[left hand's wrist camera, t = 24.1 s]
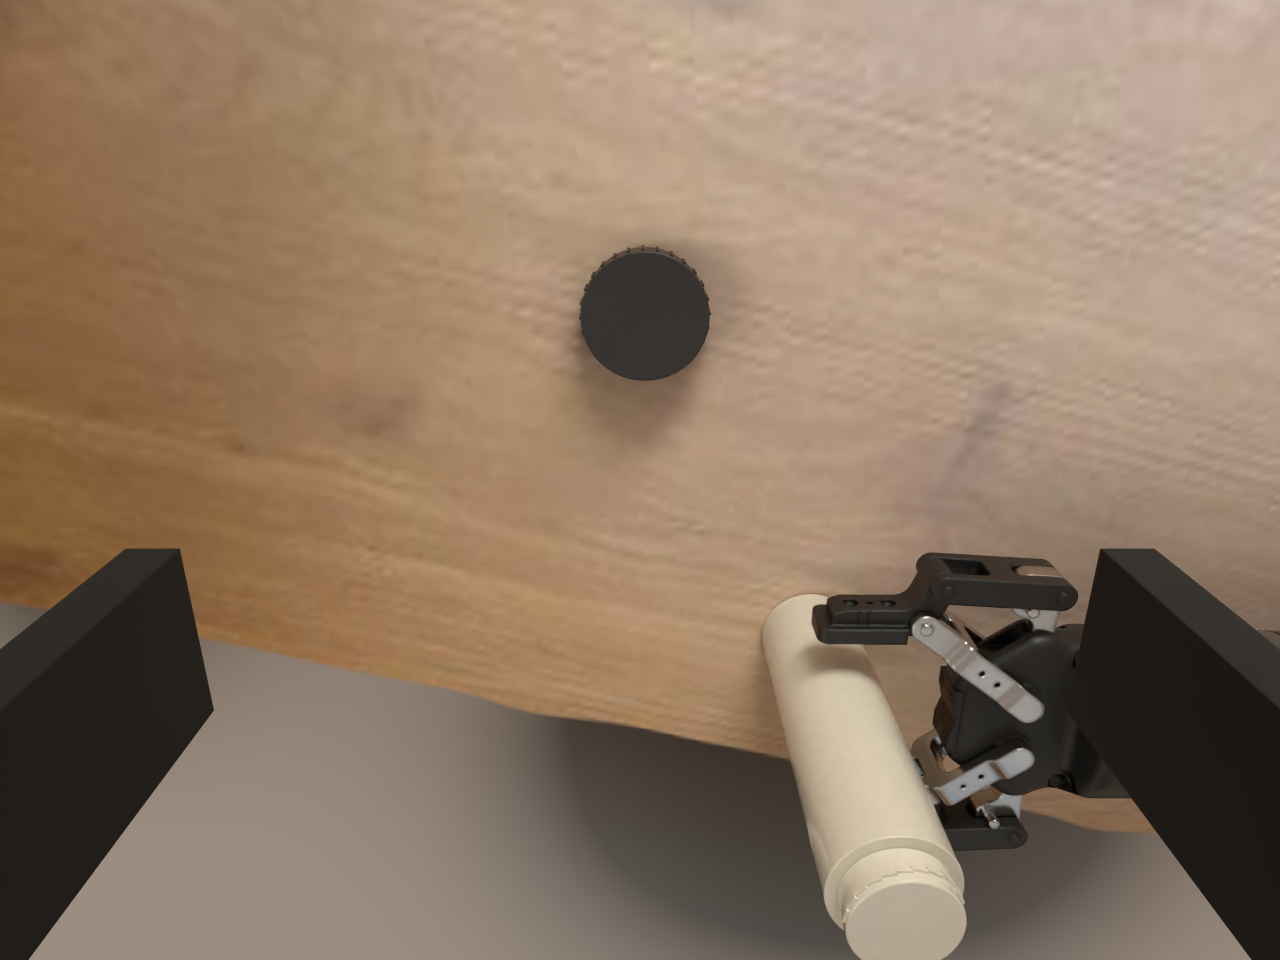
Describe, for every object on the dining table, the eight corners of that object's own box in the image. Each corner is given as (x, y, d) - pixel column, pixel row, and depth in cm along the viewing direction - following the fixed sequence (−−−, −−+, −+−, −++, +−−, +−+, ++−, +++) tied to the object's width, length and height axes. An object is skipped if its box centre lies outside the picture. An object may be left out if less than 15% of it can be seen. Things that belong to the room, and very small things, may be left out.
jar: (864, 601, 45) (1000, 882, 28) (840, 679, 46) (955, 990, 29) (773, 586, 44) (854, 861, 27) (752, 666, 46) (816, 971, 29)
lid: (592, 380, 41) (590, 390, 39) (571, 255, 38) (568, 260, 37) (715, 363, 40) (718, 372, 39) (700, 236, 38) (702, 240, 37)
